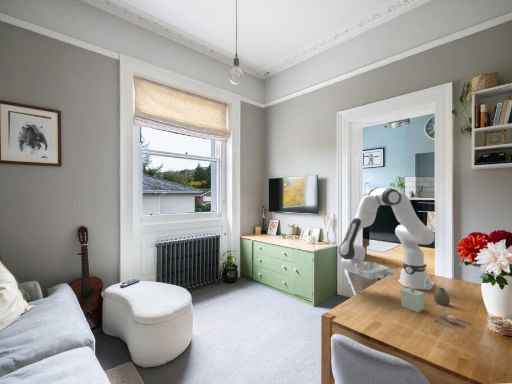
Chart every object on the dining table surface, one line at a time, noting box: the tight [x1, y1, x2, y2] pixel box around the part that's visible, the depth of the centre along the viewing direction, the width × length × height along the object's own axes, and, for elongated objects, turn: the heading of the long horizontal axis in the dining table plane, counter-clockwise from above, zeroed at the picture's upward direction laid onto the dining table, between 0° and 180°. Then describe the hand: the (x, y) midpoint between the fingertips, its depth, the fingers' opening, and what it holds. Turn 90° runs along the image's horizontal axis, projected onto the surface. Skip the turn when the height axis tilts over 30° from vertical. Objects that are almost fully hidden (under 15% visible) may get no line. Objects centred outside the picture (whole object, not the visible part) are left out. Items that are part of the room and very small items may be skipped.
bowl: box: [446, 314, 458, 324], centre depth 115 cm, size 3×3×2 cm
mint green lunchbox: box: [400, 287, 425, 313], centre depth 129 cm, size 6×8×10 cm
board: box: [434, 313, 471, 332], centre depth 115 cm, size 12×10×1 cm
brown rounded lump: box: [433, 287, 451, 307], centre depth 134 cm, size 7×7×9 cm
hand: (388, 275), depth 139 cm, fingers open, 8 cm apart
